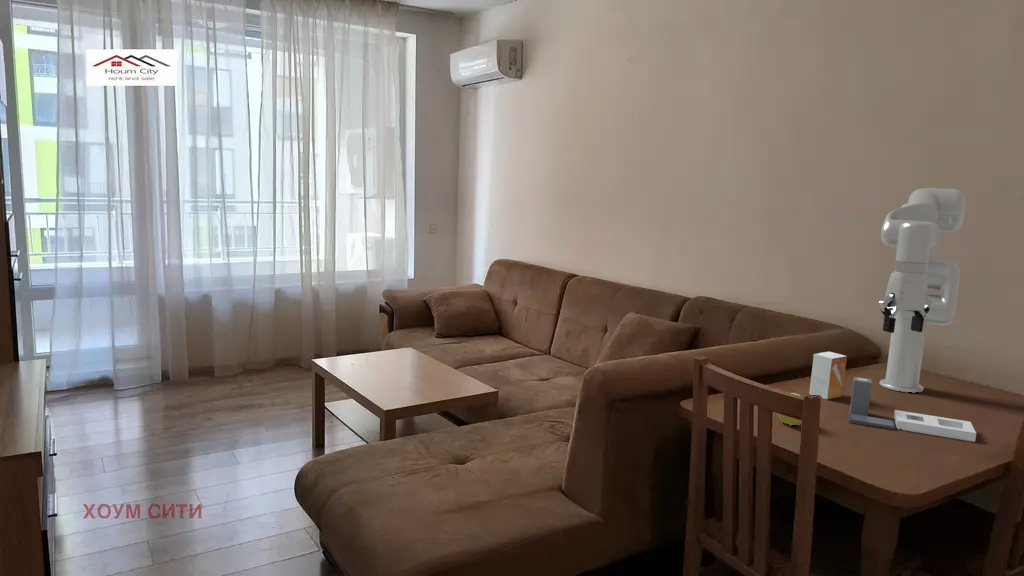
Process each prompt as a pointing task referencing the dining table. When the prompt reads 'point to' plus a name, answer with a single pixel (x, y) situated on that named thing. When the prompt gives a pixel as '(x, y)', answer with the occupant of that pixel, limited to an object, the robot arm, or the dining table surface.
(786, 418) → the apple
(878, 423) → the phone
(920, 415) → the outlet plate
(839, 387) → the small box
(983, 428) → the dining table surface
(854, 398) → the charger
